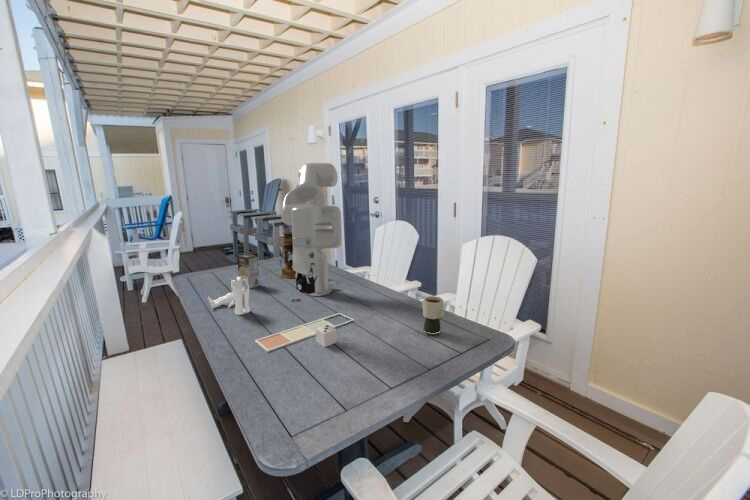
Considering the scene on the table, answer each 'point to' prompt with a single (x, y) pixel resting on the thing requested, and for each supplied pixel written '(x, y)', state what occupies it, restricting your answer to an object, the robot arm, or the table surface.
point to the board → (295, 334)
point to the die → (326, 335)
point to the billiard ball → (302, 285)
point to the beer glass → (240, 294)
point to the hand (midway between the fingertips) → (305, 290)
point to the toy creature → (222, 301)
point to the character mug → (432, 313)
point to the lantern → (287, 255)
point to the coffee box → (249, 268)
